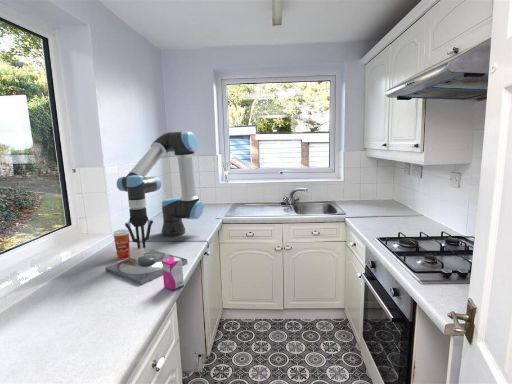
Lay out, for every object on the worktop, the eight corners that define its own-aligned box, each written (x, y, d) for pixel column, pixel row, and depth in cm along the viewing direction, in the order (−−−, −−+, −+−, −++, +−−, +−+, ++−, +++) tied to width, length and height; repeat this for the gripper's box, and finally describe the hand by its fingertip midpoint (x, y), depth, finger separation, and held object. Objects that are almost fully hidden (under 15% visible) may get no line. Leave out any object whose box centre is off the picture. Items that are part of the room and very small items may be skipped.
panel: (152, 253, 157) (152, 248, 157) (187, 263, 143) (187, 258, 143) (105, 271, 136) (105, 266, 136) (141, 284, 122) (140, 279, 121)
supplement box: (175, 281, 124) (173, 255, 122) (184, 285, 120) (182, 259, 118) (163, 287, 119) (161, 260, 118) (172, 291, 116) (170, 263, 114)
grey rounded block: (159, 260, 140) (158, 249, 140) (145, 266, 134) (144, 255, 133) (139, 255, 148) (138, 244, 147) (125, 260, 142) (124, 249, 141)
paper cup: (114, 260, 149) (111, 234, 146) (117, 255, 156) (114, 229, 154) (130, 258, 151) (128, 232, 148) (132, 253, 158) (130, 228, 156)
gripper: (123, 210, 135) (128, 259, 139) (152, 207, 141) (156, 254, 145) (122, 207, 142) (127, 254, 146) (151, 204, 148) (154, 249, 151)
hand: (142, 254), depth 145 cm, fingers closed
